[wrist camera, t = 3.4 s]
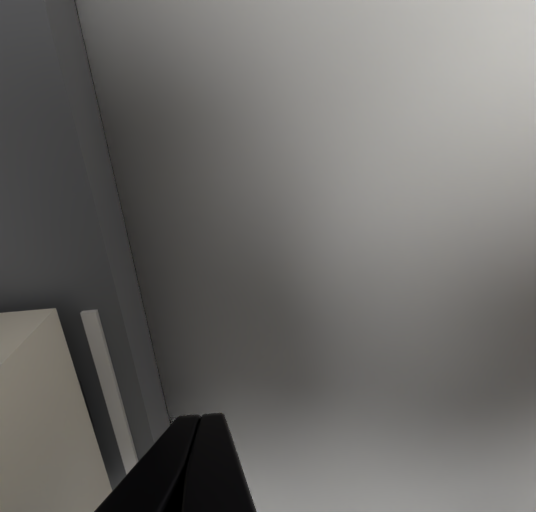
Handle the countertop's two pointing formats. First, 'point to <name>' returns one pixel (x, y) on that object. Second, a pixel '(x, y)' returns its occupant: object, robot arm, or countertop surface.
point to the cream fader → (44, 421)
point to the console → (72, 227)
